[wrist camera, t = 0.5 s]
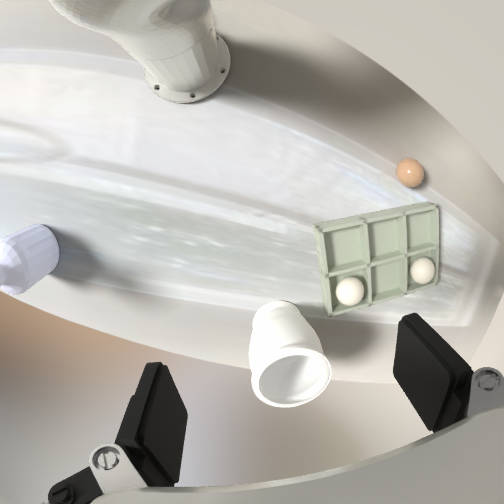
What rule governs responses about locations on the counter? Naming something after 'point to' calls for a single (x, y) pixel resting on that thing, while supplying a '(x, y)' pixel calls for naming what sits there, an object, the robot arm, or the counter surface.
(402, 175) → the brown egg
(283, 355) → the jar
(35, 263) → the soap bottle
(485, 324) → the counter surface
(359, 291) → the cream egg
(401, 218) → the egg tray
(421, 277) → the cream egg
